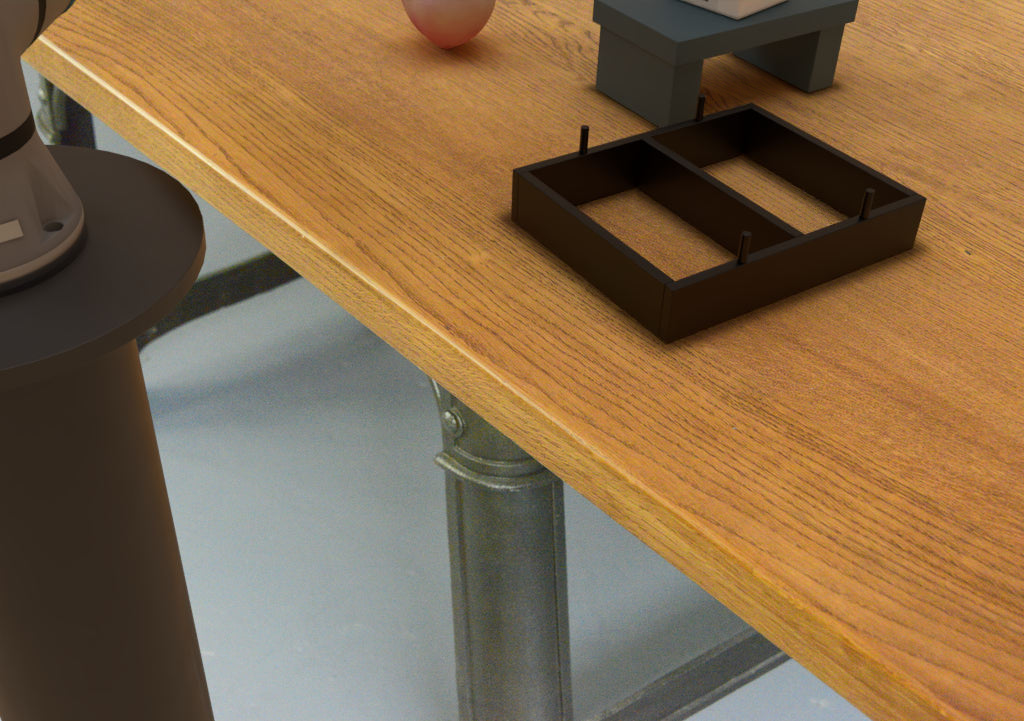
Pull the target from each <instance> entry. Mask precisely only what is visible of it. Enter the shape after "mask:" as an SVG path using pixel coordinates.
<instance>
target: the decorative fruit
mask: <svg viewBox="0 0 1024 721" xmlns="http://www.w3.org/2000/svg"><path fill="white" fill-rule="evenodd" d="M400 1H401V4H402V7H403V9H404V11H405V13H406V15H407V18H408V19H409V21H410V22H411V24H412V25H413V26H414V27H415V29H416V30H417V31H418V32H419V33H420V34H422V35H423V36H424V37H425V38H426V39H427V40H429V41H430V42H431V43H432V44H434V45H436V46H438V47H440V48H441V49H444V50H449V49H452V48H456V47H458V46H460V45H463V44H465V43H467V42H469V41H471V40H472V39H474V38H475V37H476V36H477V35H479V33H480V32H481V31H483V29H484V27H485V26H486V25H487V24H488V22H489V20H490V19H491V16H492V14H493V12H494V9H495V6H496V1H497V0H400Z"/></svg>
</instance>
